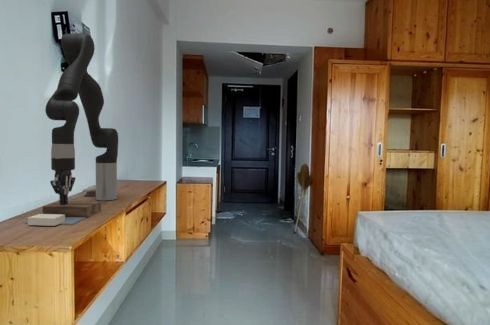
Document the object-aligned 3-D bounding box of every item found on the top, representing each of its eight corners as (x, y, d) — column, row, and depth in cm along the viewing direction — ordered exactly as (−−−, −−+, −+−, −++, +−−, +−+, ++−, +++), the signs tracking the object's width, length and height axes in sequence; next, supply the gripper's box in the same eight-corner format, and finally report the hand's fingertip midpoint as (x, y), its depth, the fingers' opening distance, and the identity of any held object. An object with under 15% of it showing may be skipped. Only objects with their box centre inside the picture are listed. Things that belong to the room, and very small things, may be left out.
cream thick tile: (27, 217, 112) (27, 224, 112) (54, 218, 112) (54, 225, 112) (39, 213, 118) (39, 220, 118) (65, 214, 118) (65, 221, 118)
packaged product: (112, 192, 186) (93, 193, 184) (112, 183, 186) (92, 184, 184) (104, 197, 168) (82, 199, 167) (103, 188, 168) (81, 189, 166)
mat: (41, 217, 125) (41, 216, 125) (85, 218, 125) (85, 217, 125) (24, 223, 115) (24, 222, 115) (72, 224, 115) (72, 223, 115)
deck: (60, 210, 137) (60, 200, 137) (100, 211, 137) (100, 201, 137) (42, 217, 125) (42, 206, 125) (86, 218, 125) (86, 207, 125)
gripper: (62, 155, 130) (63, 201, 131) (41, 157, 117) (42, 207, 118) (82, 156, 130) (82, 201, 131) (63, 157, 117) (64, 208, 118)
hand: (63, 204), depth 124 cm, fingers closed
